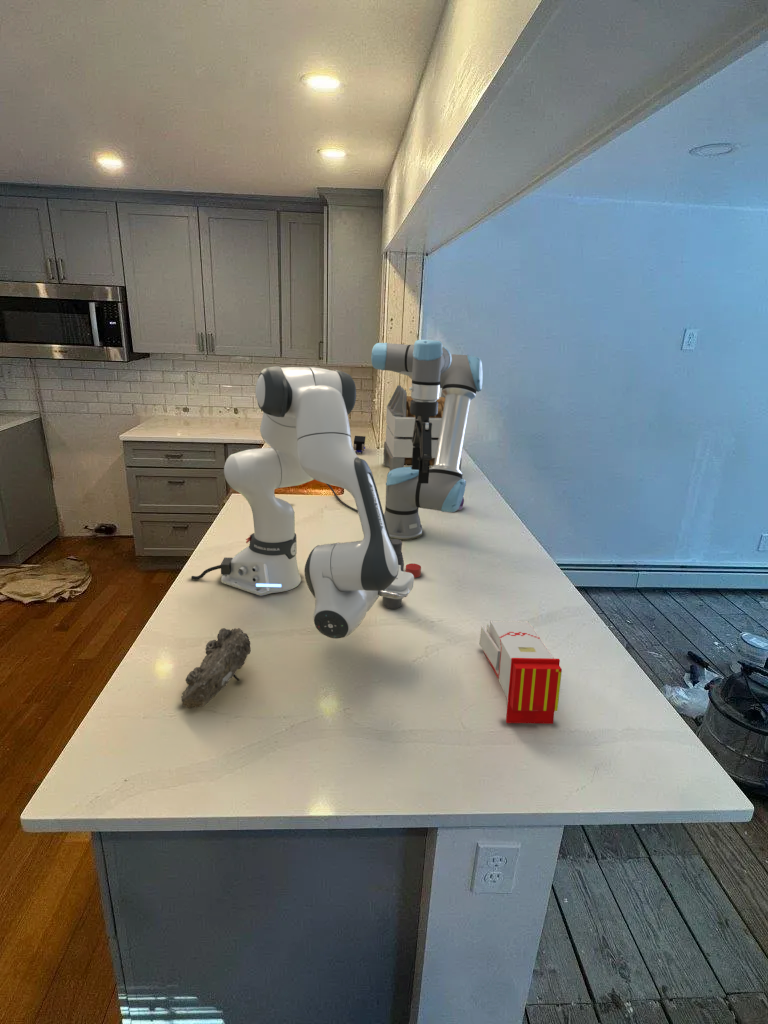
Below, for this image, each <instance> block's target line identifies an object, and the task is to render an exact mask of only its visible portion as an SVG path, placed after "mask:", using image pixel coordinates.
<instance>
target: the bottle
mask: <svg viewBox="0 0 768 1024" xmlns="http://www.w3.org/2000/svg"><path fill="white" fill-rule="evenodd" d="M391 541H392V544H393V546H394V549H395V552H396V555H397V559H398V565H401V571H404V570H405V563H404V561H405V560H404V556H403V552H402V550H403V540H398V539H391ZM404 572H405V571H404ZM402 603H403V598H402V599H392V598H387V597H382V606H383V607H384V608H385V609H390V610H397V609H399V608H401V607H402V605H403V604H402Z"/></svg>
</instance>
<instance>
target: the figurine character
mask: <svg viewBox="0 0 768 1024" xmlns="http://www.w3.org/2000/svg"><path fill="white" fill-rule="evenodd" d="M366 438H367V437H366V436H365V435H354V438H353V448H354V451H355V453H356V454H357V455H358V453H360V454H361V455H362V454H363V452H364V451H365V450H366V446H365V444H366Z"/></svg>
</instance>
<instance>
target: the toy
mask: <svg viewBox="0 0 768 1024" xmlns="http://www.w3.org/2000/svg"><path fill="white" fill-rule="evenodd" d="M478 642H479V643H478V644H479V646H480V647H481V650H482V651H483V654H484V655H485V657H486V659H487V661H488V663H489V664H490V666H491V669H492V670H493V672H494V674H495V676H496V678H497V679H498V682H499V684H500V687H501V688H502V691H503V693H504V695H505V697H506V699H507V706H506V717H505V722H506V724H547V725H549V724H551V725H553V724H554V718H555V712H558V711H559V710H558V709H559V698H560V689H561V682H562V681H561V680H562V672H563V671H562V667H561V666H560V663H561V659H560V658H554V656H553V654H552V653H551V651H550V650H549V649H548V647H547V646H546V644H545V643H544V642H543V640H542V638H540V636H539V635H538V633H537V631H536V630H535V627H534V626H532V625H531V623H530V622H529V620H528V621H527V620H526V621H525V620H524V621H523V620H490V621H489V622H487V623H486V628H485V626H480V634H479V641H478Z"/></svg>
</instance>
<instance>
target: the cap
mask: <svg viewBox="0 0 768 1024" xmlns="http://www.w3.org/2000/svg"><path fill="white" fill-rule="evenodd" d="M404 570H405V571H404V572H409V573H412V574H413V576H414V579H416V578H420V577H421V575H422V574H421V573H422V565H420V564H418V563H408V564H406V565H405V567H404Z"/></svg>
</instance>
